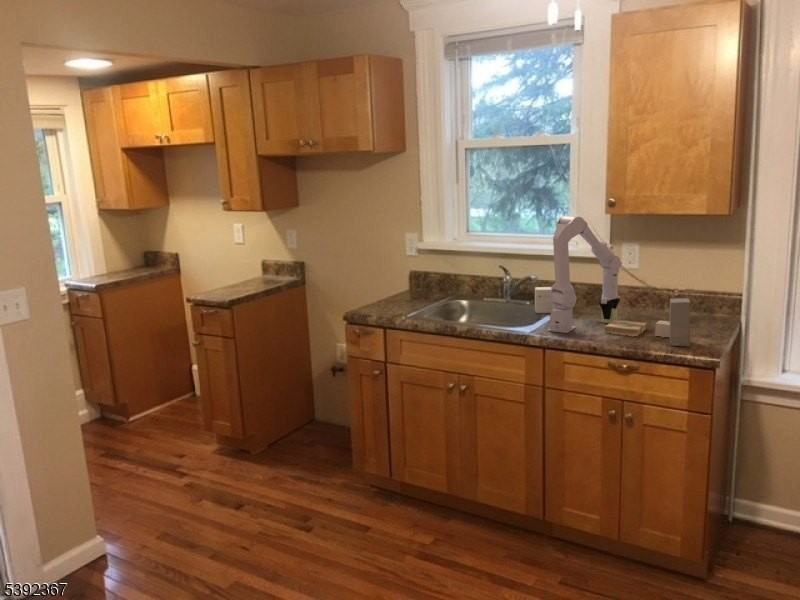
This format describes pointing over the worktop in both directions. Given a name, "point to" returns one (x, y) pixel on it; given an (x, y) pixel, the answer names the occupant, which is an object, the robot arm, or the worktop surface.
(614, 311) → the sage block
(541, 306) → the small box
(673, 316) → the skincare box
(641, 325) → the birch base block
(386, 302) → the worktop surface
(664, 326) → the grey block
